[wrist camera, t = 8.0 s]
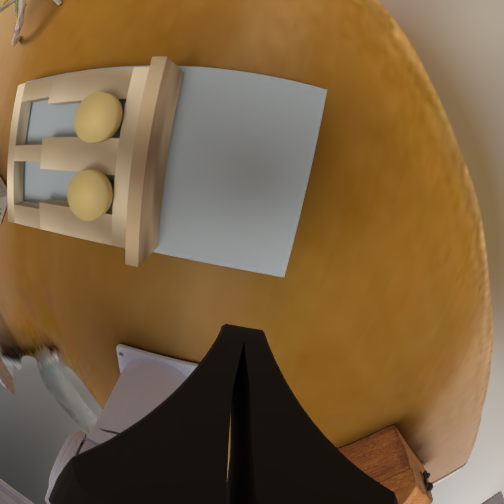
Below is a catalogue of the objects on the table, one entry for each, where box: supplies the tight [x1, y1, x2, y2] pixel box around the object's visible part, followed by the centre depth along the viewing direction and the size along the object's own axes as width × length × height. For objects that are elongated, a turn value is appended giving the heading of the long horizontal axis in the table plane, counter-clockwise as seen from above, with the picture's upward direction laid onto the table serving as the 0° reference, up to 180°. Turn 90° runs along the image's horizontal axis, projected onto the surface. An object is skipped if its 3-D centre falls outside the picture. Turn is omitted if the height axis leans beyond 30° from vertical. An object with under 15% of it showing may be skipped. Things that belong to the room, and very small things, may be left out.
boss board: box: [23, 65, 327, 277], centre depth 14 cm, size 12×23×4 cm, turn 80°
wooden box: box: [338, 425, 433, 504], centre depth 25 cm, size 30×16×14 cm, turn 35°
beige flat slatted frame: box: [7, 56, 184, 267], centre depth 13 cm, size 11×14×3 cm
